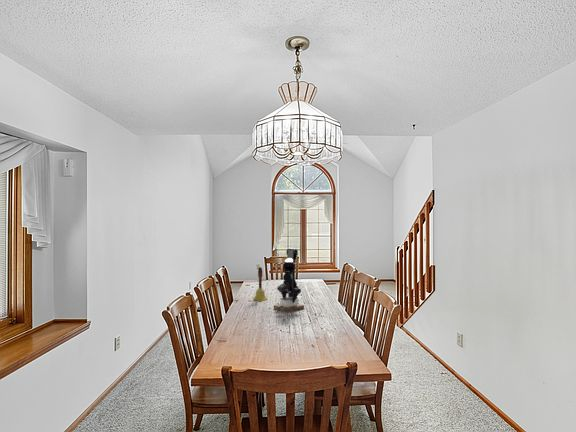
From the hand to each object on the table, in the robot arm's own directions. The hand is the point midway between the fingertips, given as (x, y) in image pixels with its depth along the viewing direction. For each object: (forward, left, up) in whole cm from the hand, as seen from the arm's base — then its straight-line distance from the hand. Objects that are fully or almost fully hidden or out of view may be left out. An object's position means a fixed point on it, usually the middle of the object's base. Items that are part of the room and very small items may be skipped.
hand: (288, 301), depth 274 cm
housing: (0, 0, -2) cm, 2 cm away
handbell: (-39, +5, -5) cm, 40 cm away
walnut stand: (0, 0, -5) cm, 5 cm away
